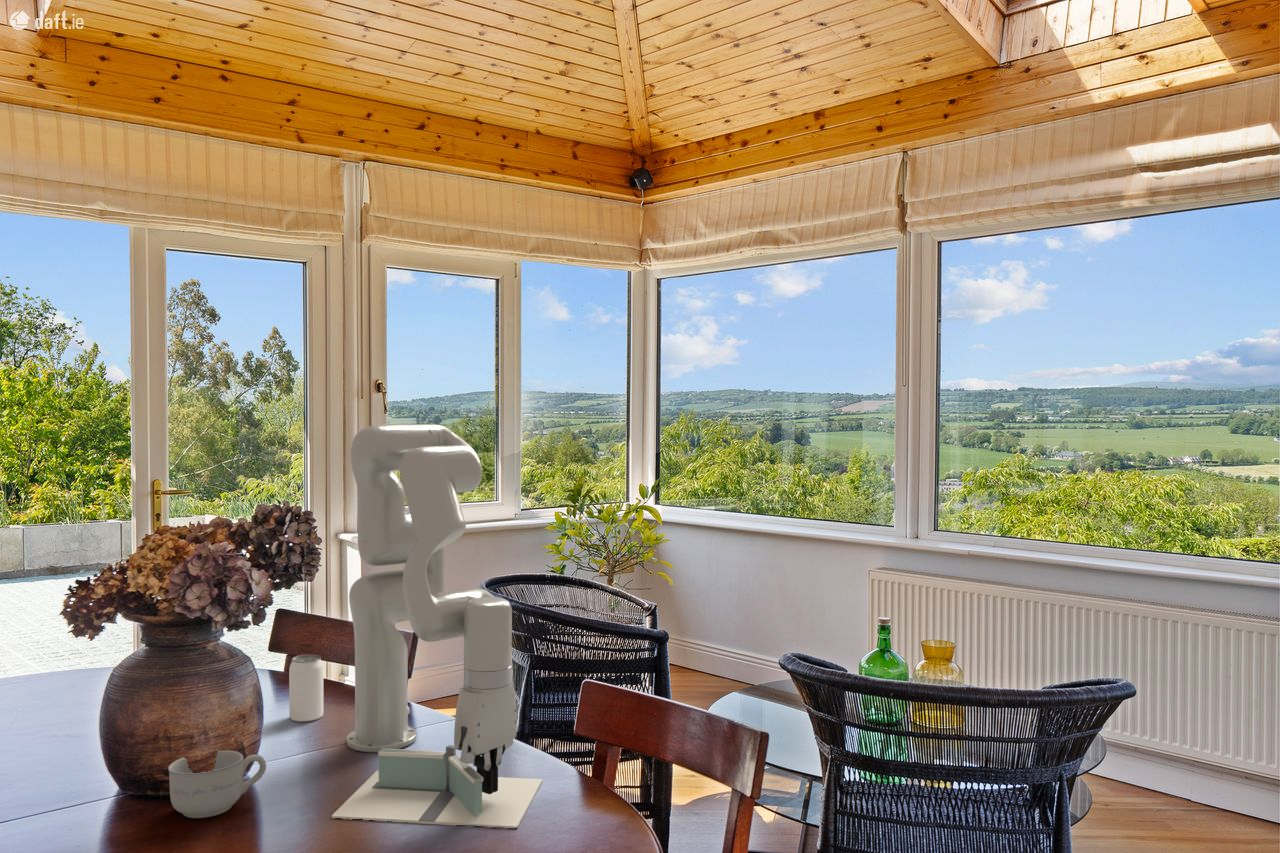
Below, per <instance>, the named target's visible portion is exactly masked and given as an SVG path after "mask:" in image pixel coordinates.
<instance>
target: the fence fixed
mask: <svg viewBox="0 0 1280 853" xmlns="http://www.w3.org/2000/svg"><path fill="white" fill-rule="evenodd" d="M377 754H378V771H379V787H398V788H417V789H435V790H444V789H445V788H446V790H448V791H450V790H449V760H448V757H449V756H454V755H457V749H455V747H454V744H451V745H447V746H445V751H441V750H440V751H439V750H423V749H422V750H421V749H418V750H417V749H416V750H415V749H402V748H399V749H381V750H380V751H379V752H377Z"/></svg>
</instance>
